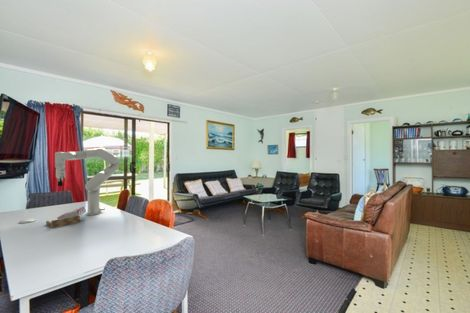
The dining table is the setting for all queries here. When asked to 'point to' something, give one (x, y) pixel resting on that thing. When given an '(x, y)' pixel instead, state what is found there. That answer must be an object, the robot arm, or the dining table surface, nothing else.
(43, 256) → the dining table surface
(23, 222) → the white dome
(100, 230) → the dining table surface
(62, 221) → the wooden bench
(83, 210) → the candy bar box
